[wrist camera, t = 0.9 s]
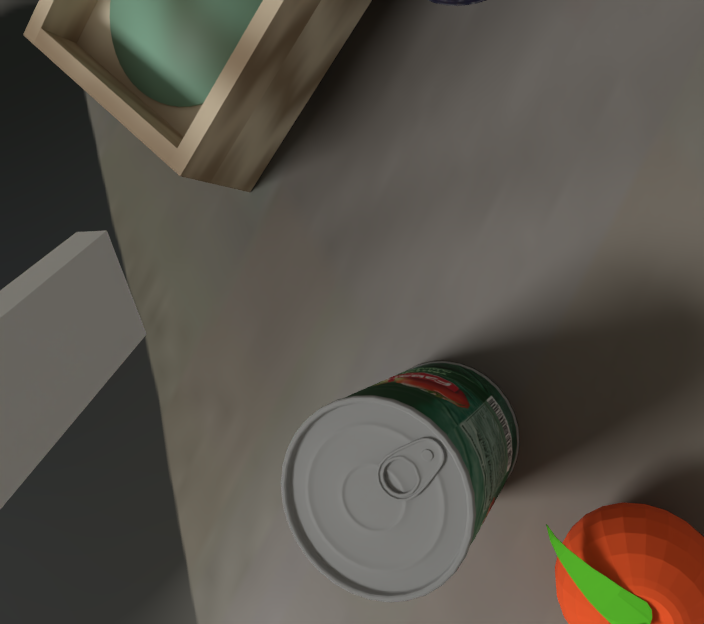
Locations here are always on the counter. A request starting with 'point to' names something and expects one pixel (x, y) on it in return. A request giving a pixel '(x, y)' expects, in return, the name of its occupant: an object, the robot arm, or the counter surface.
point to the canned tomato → (399, 479)
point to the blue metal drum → (456, 2)
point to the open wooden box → (199, 71)
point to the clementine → (630, 568)
